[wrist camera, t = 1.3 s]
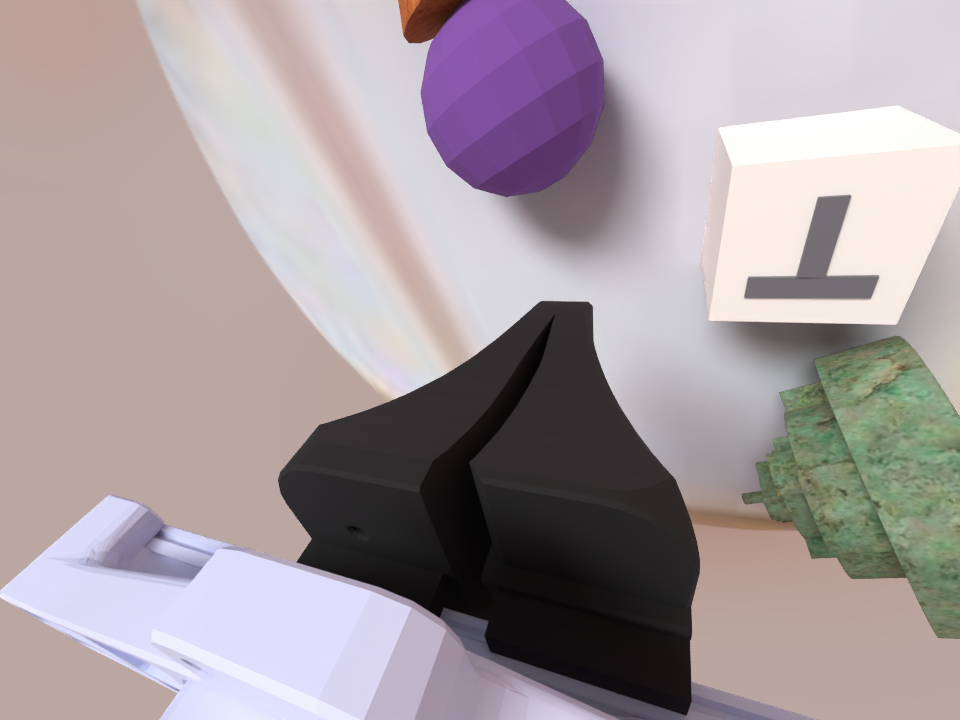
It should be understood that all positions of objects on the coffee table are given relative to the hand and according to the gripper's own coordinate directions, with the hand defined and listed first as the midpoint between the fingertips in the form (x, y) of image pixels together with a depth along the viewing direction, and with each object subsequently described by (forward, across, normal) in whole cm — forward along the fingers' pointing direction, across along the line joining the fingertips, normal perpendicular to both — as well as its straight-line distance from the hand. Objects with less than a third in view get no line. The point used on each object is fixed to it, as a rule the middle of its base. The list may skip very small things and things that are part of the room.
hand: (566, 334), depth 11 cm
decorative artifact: (+10, -10, +10) cm, 17 cm away
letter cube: (+10, -6, 0) cm, 12 cm away
